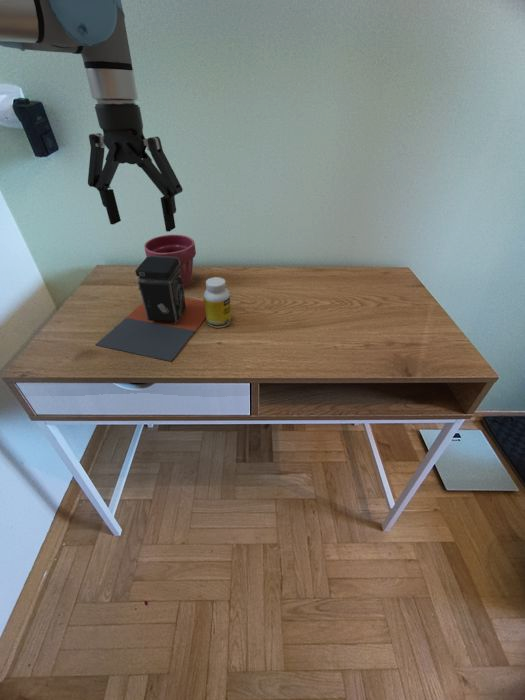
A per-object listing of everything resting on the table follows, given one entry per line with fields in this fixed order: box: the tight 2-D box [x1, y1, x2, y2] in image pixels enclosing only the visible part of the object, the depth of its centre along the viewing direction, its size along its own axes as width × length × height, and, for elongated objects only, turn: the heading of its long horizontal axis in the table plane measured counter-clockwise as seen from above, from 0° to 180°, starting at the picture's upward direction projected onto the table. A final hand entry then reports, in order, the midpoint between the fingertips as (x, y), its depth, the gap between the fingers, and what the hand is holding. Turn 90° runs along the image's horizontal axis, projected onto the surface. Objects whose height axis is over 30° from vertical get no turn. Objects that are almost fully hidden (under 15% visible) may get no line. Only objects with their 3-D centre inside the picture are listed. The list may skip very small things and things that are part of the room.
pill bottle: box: [203, 276, 232, 329], centre depth 80 cm, size 6×6×12 cm
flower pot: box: [143, 234, 197, 289], centre depth 96 cm, size 14×14×13 cm
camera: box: [135, 256, 186, 324], centre depth 81 cm, size 10×10×15 cm
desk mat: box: [95, 297, 206, 363], centre depth 83 cm, size 20×26×1 cm
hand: (142, 226), depth 69 cm, fingers open, 13 cm apart
